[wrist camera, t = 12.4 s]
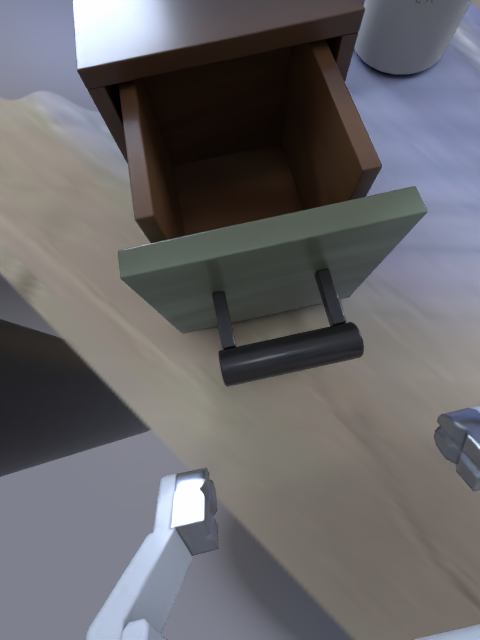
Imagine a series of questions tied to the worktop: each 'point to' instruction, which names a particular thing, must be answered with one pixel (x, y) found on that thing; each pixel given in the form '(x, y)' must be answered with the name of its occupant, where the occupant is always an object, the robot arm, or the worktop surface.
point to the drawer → (257, 202)
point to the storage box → (196, 38)
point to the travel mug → (407, 33)
